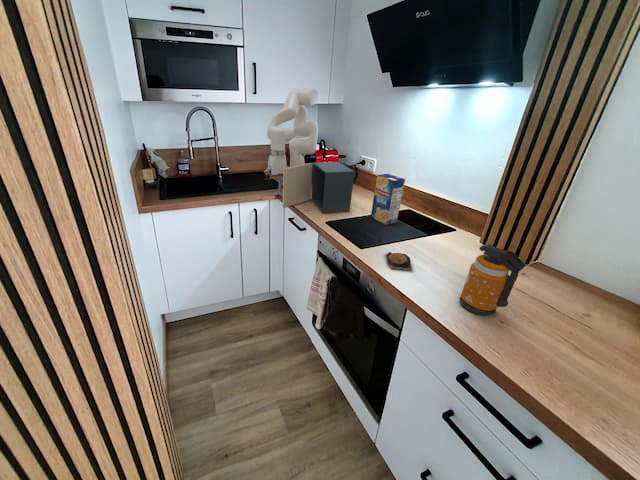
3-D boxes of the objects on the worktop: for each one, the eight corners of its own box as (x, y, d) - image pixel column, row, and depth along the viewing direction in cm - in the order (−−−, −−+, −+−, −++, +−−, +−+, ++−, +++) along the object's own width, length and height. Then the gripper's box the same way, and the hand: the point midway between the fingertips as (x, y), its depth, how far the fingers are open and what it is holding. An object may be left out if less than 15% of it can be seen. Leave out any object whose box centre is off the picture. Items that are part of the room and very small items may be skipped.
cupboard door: (274, 204, 160) (275, 166, 151) (301, 196, 174) (303, 160, 165) (283, 208, 155) (284, 169, 147) (310, 199, 169) (312, 163, 160)
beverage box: (386, 225, 137) (394, 180, 128) (370, 216, 146) (377, 175, 137) (396, 222, 140) (405, 179, 131) (380, 214, 149) (387, 173, 140)
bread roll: (413, 272, 101) (415, 263, 99) (388, 269, 102) (390, 260, 101) (407, 256, 111) (409, 248, 109) (384, 254, 112) (386, 246, 110)
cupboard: (323, 213, 150) (326, 172, 141) (311, 199, 170) (313, 162, 161) (349, 211, 152) (354, 171, 143) (335, 198, 172) (338, 161, 163)
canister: (466, 293, 90) (486, 237, 82) (507, 312, 82) (533, 253, 74) (453, 304, 85) (472, 245, 77) (495, 326, 77) (522, 264, 69)
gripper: (285, 150, 158) (285, 179, 165) (260, 153, 148) (260, 185, 155) (294, 152, 153) (293, 182, 160) (268, 155, 143) (268, 188, 150)
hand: (277, 183), depth 157 cm, fingers open, 9 cm apart
